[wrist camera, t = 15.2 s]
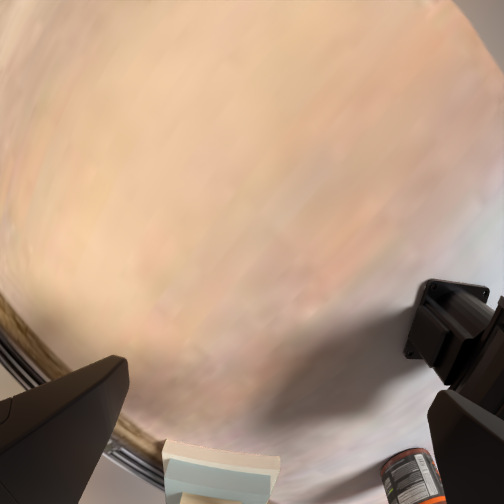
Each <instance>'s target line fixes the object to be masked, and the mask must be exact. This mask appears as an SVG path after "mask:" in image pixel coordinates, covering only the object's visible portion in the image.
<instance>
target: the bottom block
mask: <svg viewBox="0 0 504 504" xmlns="http://www.w3.org/2000/svg"><path fill="white" fill-rule="evenodd" d="M170 458H172V459H176V460H180V461H184V462H189V463H193V464H198V465H203V466H208V467H214V468H220V469H226V470H232V471H239V472H246V473H254V474H263V475H271V477H270V494H271V492H272V489H273V487H274V484H275V482H276V479H277V477H278V474H279V472H280V457H278V456H266V455H256V454H247V453H239V452H232V451H225V450H218V449H212V448H206V447H201V446H196V445H191V444H186V443H181V442H176V441H172V440H168V439H166V442H165V444H164V447H163V450H162V459H163V468H164V476H165V473H166V470H167V467H168V464H169V461H170ZM267 502H268V501H267ZM266 504H267V503H266Z"/></svg>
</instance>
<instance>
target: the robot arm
mask: <svg viewBox="0 0 504 504" xmlns="http://www.w3.org/2000/svg"><path fill="white" fill-rule="evenodd" d="M433 284H435V285H434V287H433V288H431V286H432V285H433ZM484 292H485V293H484ZM483 293H484V294H483ZM489 293H490V290H489V288H487V287H486V286H481V285H474V284H467V283H460V282H453V281H446V280H439V279H430V280H429V281H428V282H427V284H426V287H425V291H424V294H423V297H422V300H421V303H420V306H419V308H418V310H417V313H416V316H415V319H414V322H413V324H412V327H411V330H410V333H409V336H408V337H409V338H408V341H407V344H406V346H405V349H404V352H403V353H404V356H405V357H406V358H407V359H424V360H425V362H426V363H427V365H428V366H429V367H430V368H433V369H434V371H435V372H436V374H437V375H438V376H439V378H440V379H441V381H442V382H443V384H444V385H446V386H448V385H450V387H449V388H448V390H441V391H439V392H438V393H437V395H436V397H435V399H434V401H433V403H432V404H431V406H430V408H429V410H428V414H427V418H428V423H429V428H430V433H431V439H432V444H433V450H434V455H435V460H436V464H437V467H438V471H439V475H440V479H441V483H442V487H443V491H444V495H445V499H446V504H504V297H503V296H501V297H500V299H499V301H498V306H497V308H496V310H495V311H494V310H493V309H491V308H490V307H489V306H487V305H486V302H487V299H488V296H489ZM410 351H411V353H409V352H410ZM408 353H409V354H408ZM129 383H130V381H129V371H128V362H127V360H126V359H125V358H124V357H120V356H116V355H111V356H108V357H106V358H104V359H102V360H99V361H97V362H95V363H92V364H90V365H88V366H85V367H83V368H81V369H78V370H76V371H74V372H71V373H69V374H67V375H64V376H62V377H59V378H57V379H55V380H52V381H50V382H47V383H45V384H42V385H40V386H38V387H35V388H33V389H30V390H28V391H25V392H23V393H20V394H18V395H15V396H13V398H11V397H10V398H7V399H5V400H2V401H0V504H78V502H79V500H80V498H81V496H82V494H83V491H84V490H85V487H86V485H87V483H88V481H89V479H90V477H91V475H92V473H93V471H94V469H95V467H96V465H97V463H98V461H99V459H100V457H101V455H102V453H103V451H104V449H105V447H106V445H107V443H108V441H109V439H110V437H111V435H112V432H113V430H114V427H115V425H116V422H117V419H118V416H119V414H120V411H121V408H122V405H123V403H124V400H125V397H126V394H127V392H128V389H129Z"/></svg>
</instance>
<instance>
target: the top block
mask: <svg viewBox="0 0 504 504" xmlns="http://www.w3.org/2000/svg"><path fill="white" fill-rule="evenodd" d="M270 477H271V475H263V474H254V473H246V472H239V471H232V470H226V469H220V468H214V467H208V466H203V465H198V464H193V463H189V462H184V461H180V460H176V459H172V458H170V461H169V464H168V467H167V470H166V473H165V477H164V483H165V497H166V504H180V501H181V497H182V493H183V492H185V493H190V494H195V495H201V496H206V497H212V498H219V499H226V500H233V501H241V502H242V504H266V503H267V501H268V499H269V497H270Z"/></svg>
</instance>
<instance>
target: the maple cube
mask: <svg viewBox="0 0 504 504" xmlns="http://www.w3.org/2000/svg"><path fill="white" fill-rule="evenodd" d="M180 504H242V502H241V501H233V500H226V499H219V498H212V497H206V496H201V495H195V494H190V493H185V492H183V493H182V497H181V501H180Z"/></svg>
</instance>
